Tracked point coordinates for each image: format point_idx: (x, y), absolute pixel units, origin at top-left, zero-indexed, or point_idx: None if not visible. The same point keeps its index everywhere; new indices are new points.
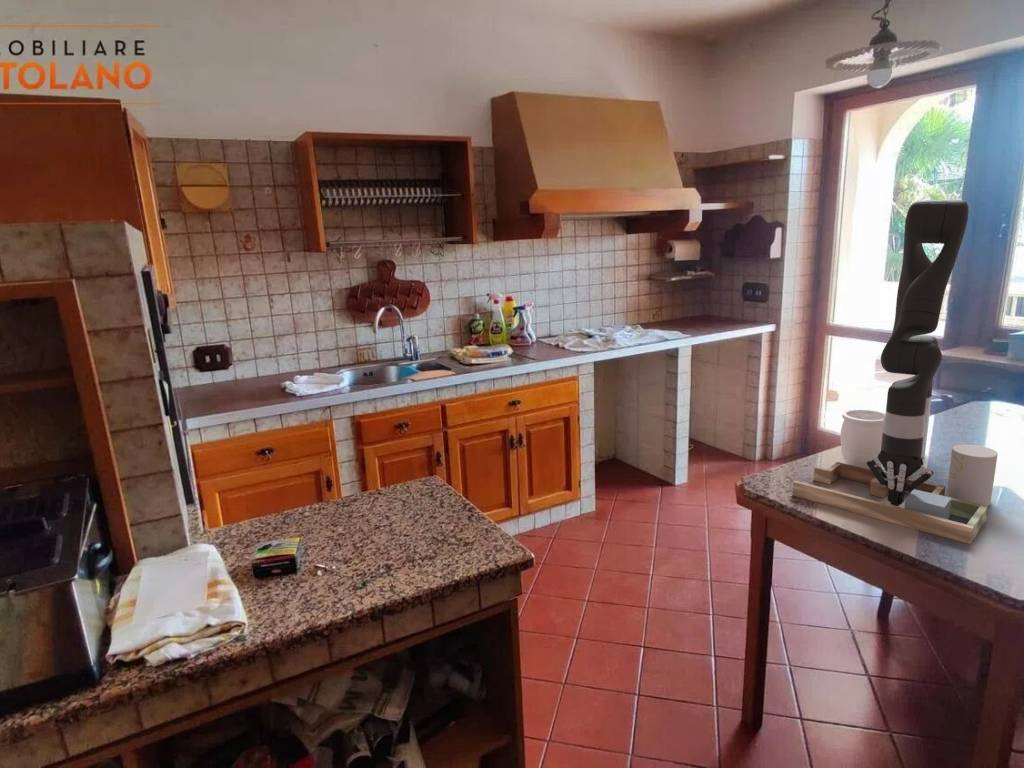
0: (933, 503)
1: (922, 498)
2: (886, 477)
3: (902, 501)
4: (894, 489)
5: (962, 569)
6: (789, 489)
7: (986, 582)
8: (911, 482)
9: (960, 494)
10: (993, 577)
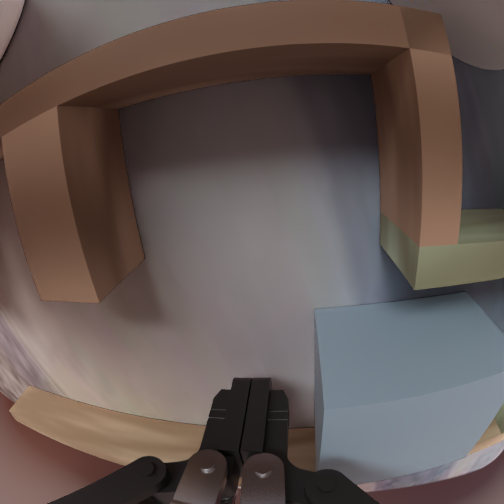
0: (432, 463)
1: (388, 462)
2: (151, 491)
3: (288, 421)
4: (237, 475)
5: (448, 470)
6: (8, 365)
7: (471, 467)
8: (188, 67)
9: (500, 52)
10: (485, 454)
